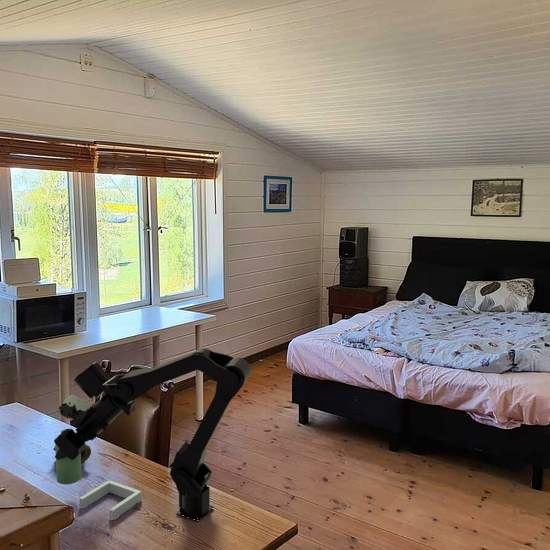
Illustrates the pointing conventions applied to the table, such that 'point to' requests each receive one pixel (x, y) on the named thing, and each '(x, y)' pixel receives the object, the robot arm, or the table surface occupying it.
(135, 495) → the u rest
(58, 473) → the bottle
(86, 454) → the pottery mug
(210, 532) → the table surface
